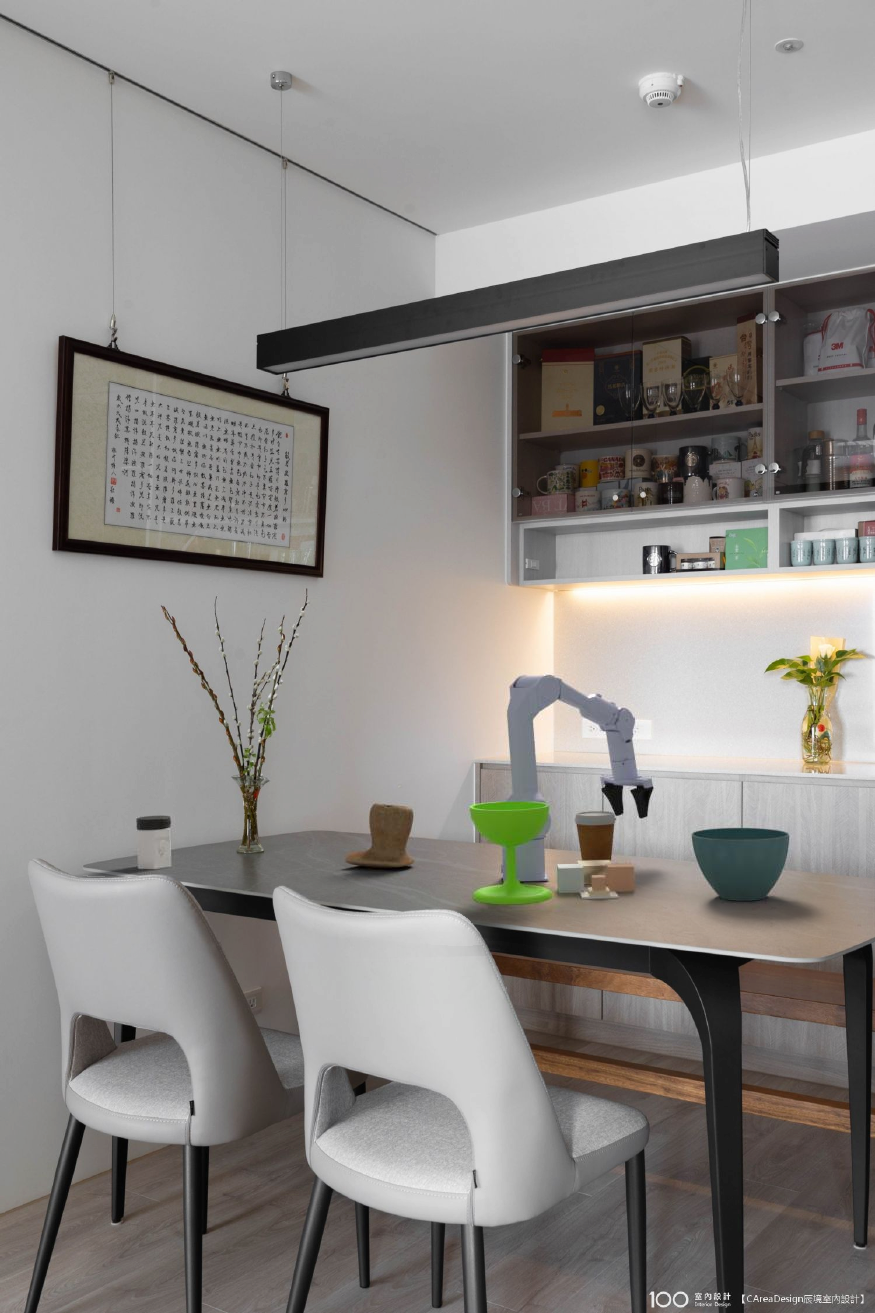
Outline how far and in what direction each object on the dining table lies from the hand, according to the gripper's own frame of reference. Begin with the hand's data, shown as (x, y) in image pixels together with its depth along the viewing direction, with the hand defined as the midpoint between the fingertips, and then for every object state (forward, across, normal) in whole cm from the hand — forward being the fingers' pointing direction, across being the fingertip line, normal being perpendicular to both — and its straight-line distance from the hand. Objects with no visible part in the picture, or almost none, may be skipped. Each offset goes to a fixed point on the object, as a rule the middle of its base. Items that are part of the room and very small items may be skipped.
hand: (631, 816), depth 265 cm
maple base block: (+7, -11, +24) cm, 28 cm away
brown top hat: (+3, +38, +45) cm, 59 cm away
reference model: (+5, -24, +36) cm, 43 cm away
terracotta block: (+6, -22, +28) cm, 36 cm away
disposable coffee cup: (+9, +2, +12) cm, 15 cm away
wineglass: (+3, -12, +48) cm, 49 cm away
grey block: (+5, -15, +35) cm, 39 cm away
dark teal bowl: (+8, -44, +18) cm, 48 cm away
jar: (-3, +80, +84) cm, 116 cm away
